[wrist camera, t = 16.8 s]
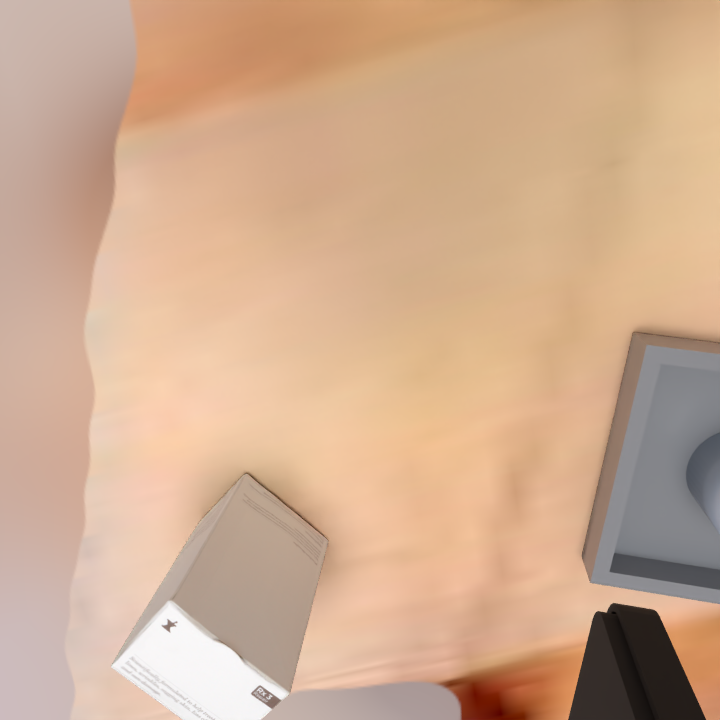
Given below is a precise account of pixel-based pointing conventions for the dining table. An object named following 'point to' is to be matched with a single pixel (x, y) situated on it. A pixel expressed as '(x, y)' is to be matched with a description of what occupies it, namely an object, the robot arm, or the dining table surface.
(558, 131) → the dining table surface
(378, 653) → the dining table surface
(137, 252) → the dining table surface
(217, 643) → the skincare box
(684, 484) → the tray
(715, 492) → the cup
